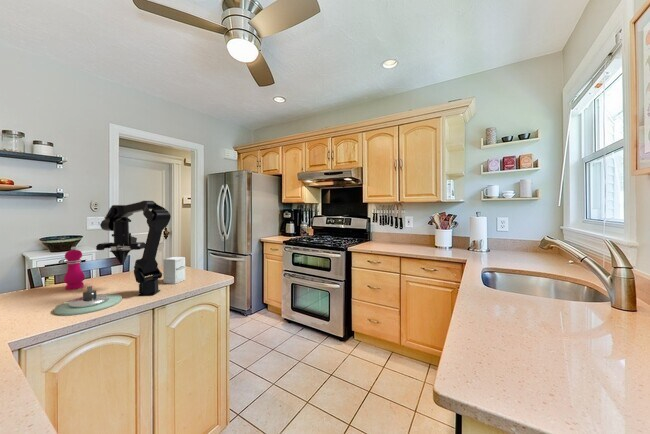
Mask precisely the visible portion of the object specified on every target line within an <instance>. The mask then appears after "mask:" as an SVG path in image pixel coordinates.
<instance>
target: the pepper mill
mask: <svg viewBox="0 0 650 434" xmlns="http://www.w3.org/2000/svg"><path fill="white" fill-rule="evenodd" d="M82 257H83V252H82V251H81V250H79V249H77V248H76V246H71V248H70V250H68V251H66V252H65V253H64V258H65V259H66V264H67V271H66V273H65V276H64V277H63V282H64V283H65V284H66V285H65V290H68V291H72V290H78V289H82V288H83V287H84V286H85V283H84V282H83V281H85V279H86V278H85V274H84V272H83V271H82V269H81V262H82Z"/></svg>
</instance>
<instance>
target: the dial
mask: <svg viewBox="0 0 650 434" xmlns="http://www.w3.org/2000/svg"><path fill="white" fill-rule="evenodd" d="M107 294H108V293H103V294H102V293H101V294H100V293H98V294H97V290H94V289H93V286H92V285H90V286H87V288H86V291H84V292H82V296H81V297H77V298H75V299H71V300H72V301H71V300H69V301H70V302H69V307H72V308H80V307H88V306H93V305H97V304H100V303H103V302H106V301H108V300H109V295H107Z"/></svg>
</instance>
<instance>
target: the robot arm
mask: <svg viewBox="0 0 650 434" xmlns="http://www.w3.org/2000/svg"><path fill="white" fill-rule="evenodd" d="M139 212H142V215H143V216H144V218H146V224H147V226H148V228H149V229H148V231H147V232H148V233H147V238H146V241H145V242H144V241H143V242H142V241H140V242H137V240H138V237H135V236H132V234H131V232H130V228H129V227H130V226H129V223H132V220H131V219H130V218H129V217H131V216H132V215H134V214H135V213H139ZM171 217H172V216H171V212H169V211H168V210H167V209H166V208H165V207H163V206H161V205H160V204H158V203H156V202H155V201H154V200H142V201H141V200H140V201H138V202H134V203H129V204H113V205H111V206H110V208H109V210H108V212H107V213H106V215H105V216H104V219H103V220H102V221H101V223H100V224H99V225H100V228H101V229H102V230H103V231H109V232H113V233H112V234H111V237H113V242H101V243H98V244H97V245H96V246H95V247H96V248H95V250H96V251H104V250H105V249H110V250H109V252H110V253H112V254H113V255H114V257H115V258H116V260H117V261H118V262H119V264H120V265H124V264H125V262H126V260H127V256H128V255H129V253H130V252H131V251H134V250H135V251H136V250H137V251H138V250H142V249H143V253H142V257H141V258H139V259H136V260H135V261H134V267H133V275H134V278H135V282H136V283H137V284H138V294H137V296H139V297H140V296H142V297H143V296H144V297H145V296H146V297H147V296H154V295H156V294H158V293H159V292H161V289H159V279H162V277H163V273H162V271H161V270H160V269H159V267H158V265H159V264H158V262H157V259H156V257H157V254H158V248H159V246H160V242H161V237H162V233H163V230H164V229H165V228H167V226H168V225H169V223H170V220H171V219H172V218H171Z"/></svg>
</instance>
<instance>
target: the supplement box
mask: <svg viewBox="0 0 650 434" xmlns="http://www.w3.org/2000/svg"><path fill="white" fill-rule="evenodd" d="M162 261H163V271H162V272H163V273H162V276H163V283H164V284H171V285H176V284H178V283H181V282H184V281H186V257H185V256H172V257H167V258H163V260H162ZM183 280H184V281H183Z"/></svg>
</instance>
